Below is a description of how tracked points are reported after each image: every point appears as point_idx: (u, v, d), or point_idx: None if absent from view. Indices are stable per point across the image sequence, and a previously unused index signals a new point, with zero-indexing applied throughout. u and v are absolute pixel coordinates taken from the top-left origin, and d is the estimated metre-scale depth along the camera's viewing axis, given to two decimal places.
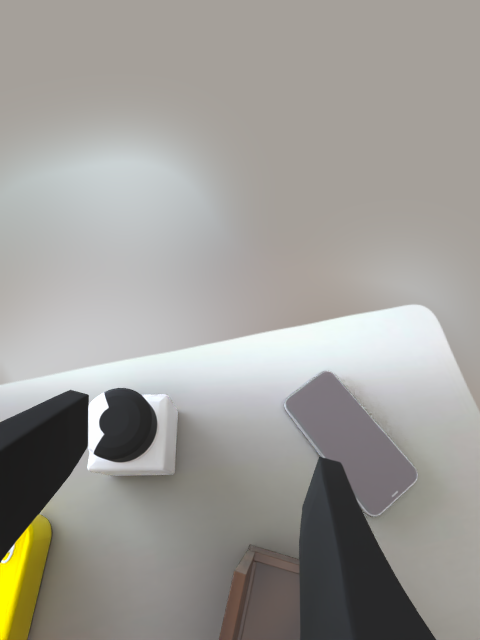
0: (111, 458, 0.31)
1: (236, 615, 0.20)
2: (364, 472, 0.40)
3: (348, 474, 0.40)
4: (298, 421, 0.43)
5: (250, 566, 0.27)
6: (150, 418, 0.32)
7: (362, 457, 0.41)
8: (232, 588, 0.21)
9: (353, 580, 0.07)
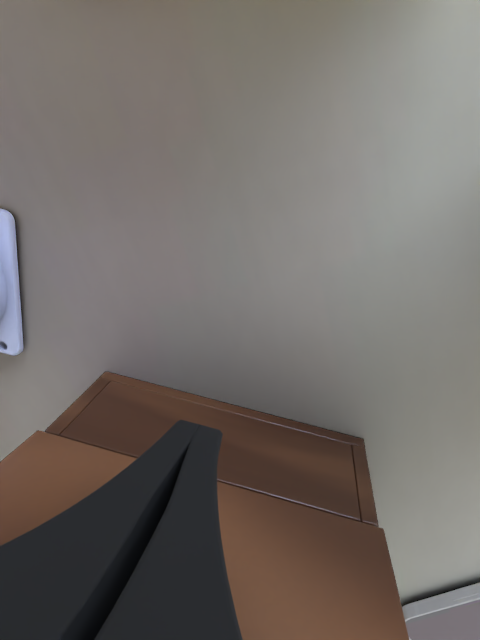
0: None
1: None
2: (478, 632, 0.22)
3: (478, 611, 0.21)
4: None
5: None
6: None
7: None
8: None
9: (169, 525, 0.07)
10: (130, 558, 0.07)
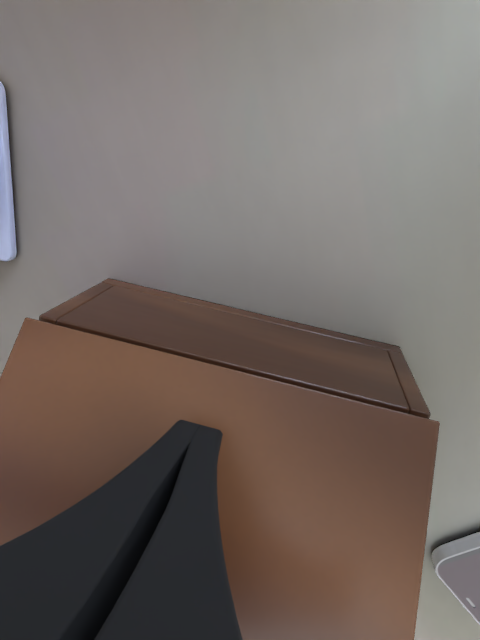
0: None
1: None
2: None
3: None
4: None
5: None
6: None
7: None
8: None
9: (169, 525, 0.07)
10: (130, 558, 0.07)
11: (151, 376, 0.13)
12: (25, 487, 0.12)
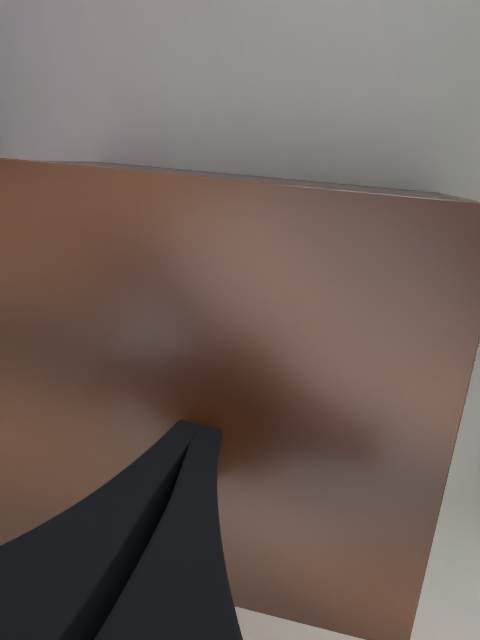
0: None
1: None
2: None
3: None
4: None
5: None
6: None
7: None
8: None
9: (169, 525, 0.07)
10: (130, 558, 0.07)
11: (148, 204, 0.11)
12: (53, 335, 0.12)
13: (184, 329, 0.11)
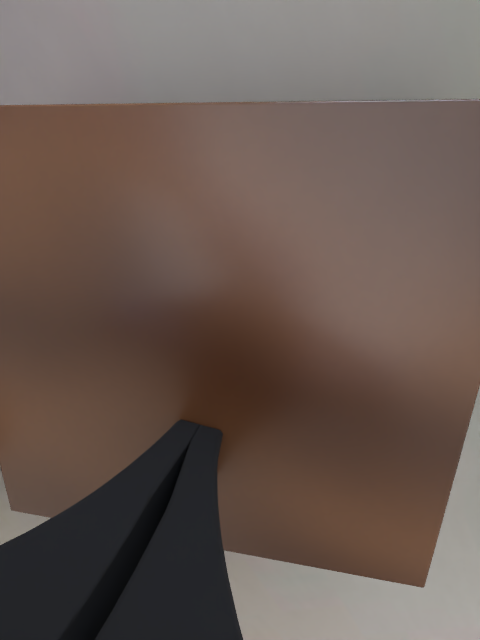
0: None
1: None
2: None
3: None
4: None
5: None
6: None
7: None
8: None
9: (169, 525, 0.07)
10: (130, 558, 0.07)
11: (100, 146, 0.09)
12: (26, 310, 0.11)
13: (163, 291, 0.10)
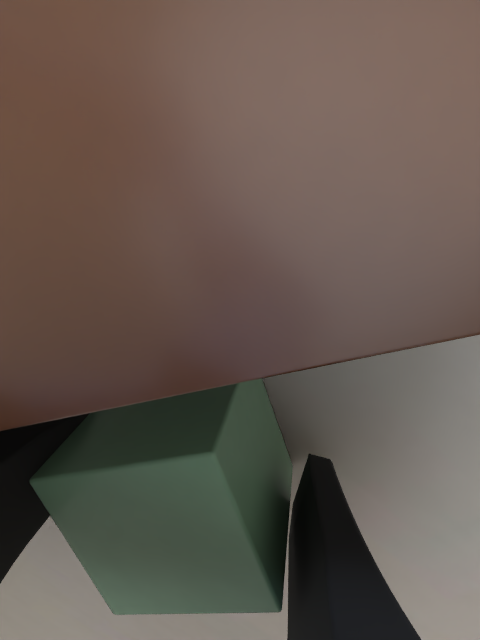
0: None
1: None
2: None
3: None
4: None
5: None
6: None
7: None
8: None
9: (337, 575, 0.07)
10: None
11: None
12: None
13: None
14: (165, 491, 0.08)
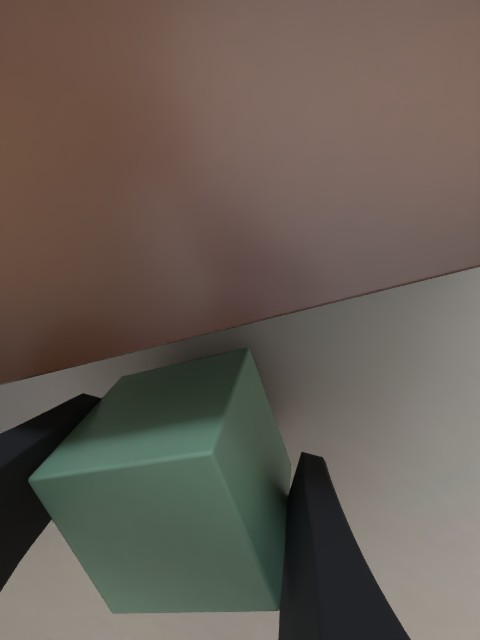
0: None
1: None
2: None
3: None
4: None
5: None
6: None
7: None
8: None
9: (325, 572, 0.07)
10: None
11: None
12: None
13: None
14: (163, 490, 0.08)
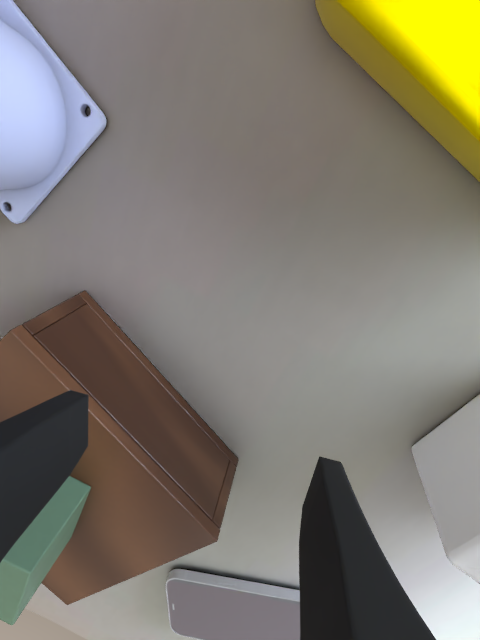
0: None
1: None
2: (213, 606, 0.29)
3: (224, 595, 0.29)
4: None
5: None
6: None
7: (229, 616, 0.29)
8: None
9: (353, 580, 0.07)
10: None
11: None
12: None
13: None
14: None
